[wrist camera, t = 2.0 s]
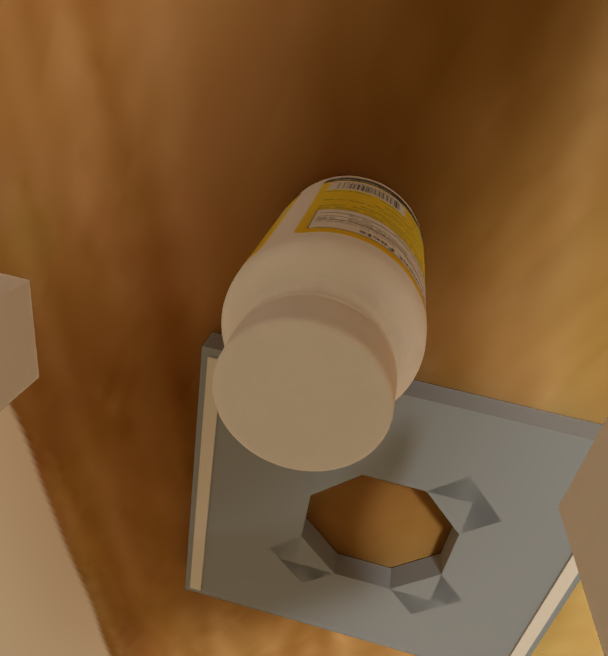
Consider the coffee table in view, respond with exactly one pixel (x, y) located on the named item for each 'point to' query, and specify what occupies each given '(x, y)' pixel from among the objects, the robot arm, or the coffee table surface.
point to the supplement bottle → (324, 327)
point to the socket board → (415, 577)
